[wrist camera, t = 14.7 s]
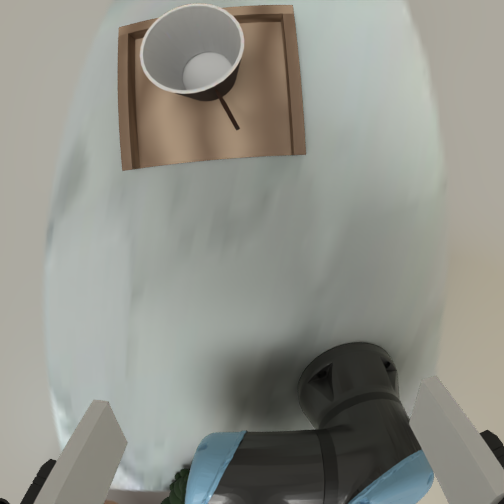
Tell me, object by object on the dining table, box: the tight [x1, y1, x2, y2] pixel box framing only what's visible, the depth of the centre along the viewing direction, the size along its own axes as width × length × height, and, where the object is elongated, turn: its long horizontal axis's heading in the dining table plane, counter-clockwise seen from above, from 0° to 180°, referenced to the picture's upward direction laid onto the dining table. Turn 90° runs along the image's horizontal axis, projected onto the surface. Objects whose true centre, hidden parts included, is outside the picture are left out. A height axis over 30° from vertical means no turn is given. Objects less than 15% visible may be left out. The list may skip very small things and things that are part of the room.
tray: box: [118, 5, 306, 171], centre depth 29 cm, size 19×17×3 cm
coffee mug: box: [140, 3, 244, 131], centre depth 26 cm, size 12×9×10 cm
